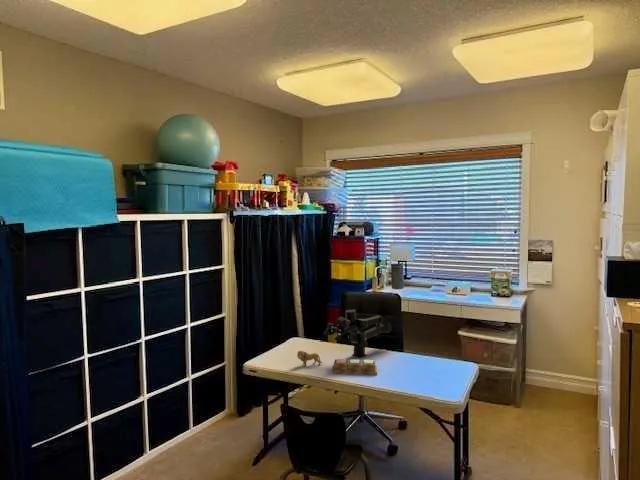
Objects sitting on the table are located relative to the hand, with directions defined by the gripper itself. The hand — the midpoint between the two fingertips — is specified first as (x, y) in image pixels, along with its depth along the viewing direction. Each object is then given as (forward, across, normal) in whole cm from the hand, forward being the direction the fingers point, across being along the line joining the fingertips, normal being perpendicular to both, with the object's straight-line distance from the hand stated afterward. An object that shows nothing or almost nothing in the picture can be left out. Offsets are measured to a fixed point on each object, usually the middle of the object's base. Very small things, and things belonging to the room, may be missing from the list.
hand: (328, 336), depth 249 cm
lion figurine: (+10, -6, +17) cm, 20 cm away
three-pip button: (+2, +11, +12) cm, 17 cm away
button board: (-3, +17, +15) cm, 23 cm away
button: (-3, +17, +12) cm, 21 cm away
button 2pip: (-8, +23, +12) cm, 27 cm away
